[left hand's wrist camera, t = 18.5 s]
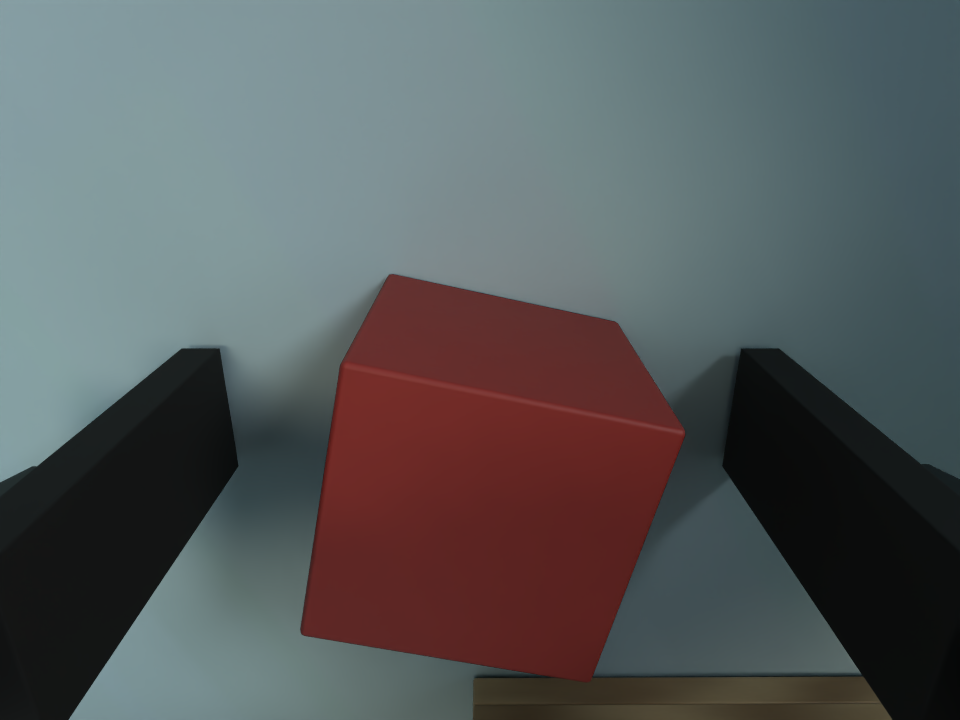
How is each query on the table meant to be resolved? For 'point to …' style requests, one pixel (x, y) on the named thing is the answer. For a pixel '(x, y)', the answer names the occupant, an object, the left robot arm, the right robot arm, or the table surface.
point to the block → (486, 482)
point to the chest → (677, 699)
